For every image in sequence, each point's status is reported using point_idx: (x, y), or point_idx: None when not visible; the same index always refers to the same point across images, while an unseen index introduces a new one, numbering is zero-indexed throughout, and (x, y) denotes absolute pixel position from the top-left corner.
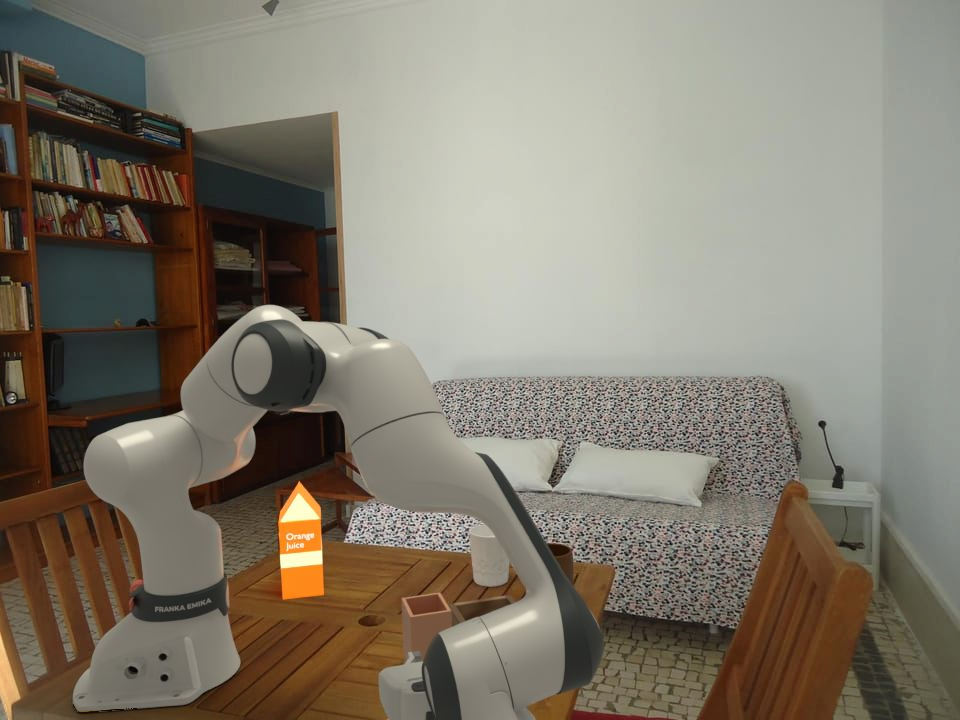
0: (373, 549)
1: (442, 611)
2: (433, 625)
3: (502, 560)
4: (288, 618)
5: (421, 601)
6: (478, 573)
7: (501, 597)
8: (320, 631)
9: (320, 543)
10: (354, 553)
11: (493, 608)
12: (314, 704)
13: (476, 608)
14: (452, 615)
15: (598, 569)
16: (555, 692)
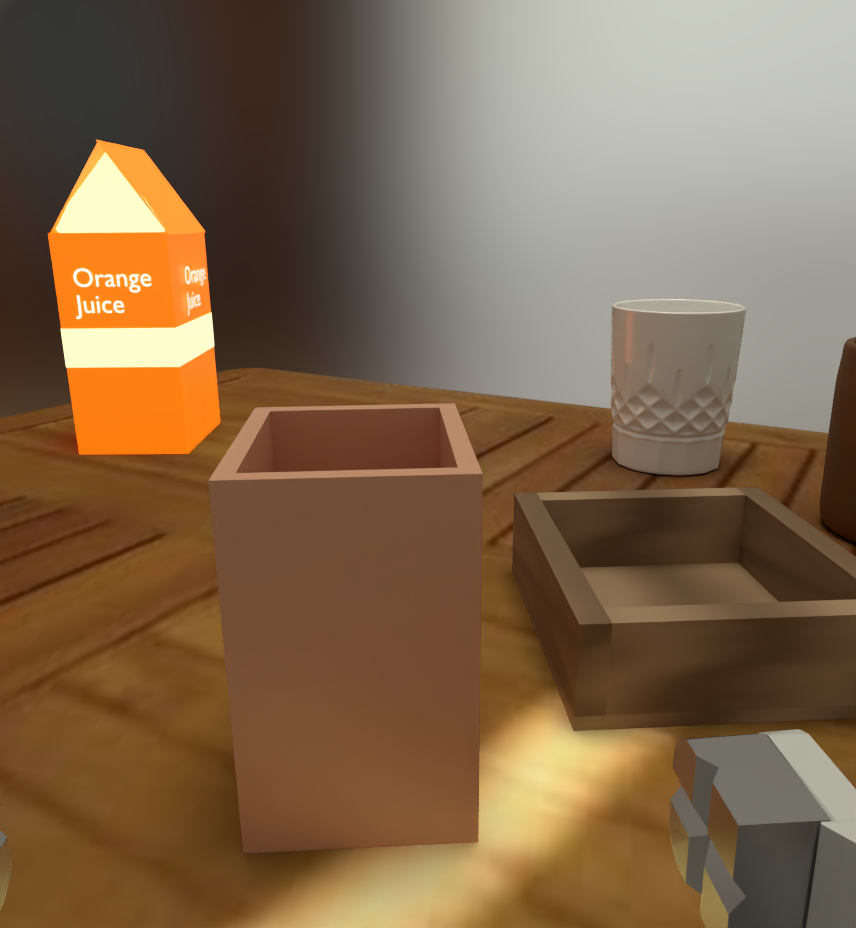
0: (373, 386)
1: (424, 471)
2: (362, 549)
3: (712, 397)
4: (39, 496)
5: (354, 434)
6: (629, 433)
7: (724, 492)
8: (83, 540)
9: (171, 306)
10: (327, 389)
11: (689, 528)
12: None
13: (622, 521)
14: (524, 534)
15: None
16: None
